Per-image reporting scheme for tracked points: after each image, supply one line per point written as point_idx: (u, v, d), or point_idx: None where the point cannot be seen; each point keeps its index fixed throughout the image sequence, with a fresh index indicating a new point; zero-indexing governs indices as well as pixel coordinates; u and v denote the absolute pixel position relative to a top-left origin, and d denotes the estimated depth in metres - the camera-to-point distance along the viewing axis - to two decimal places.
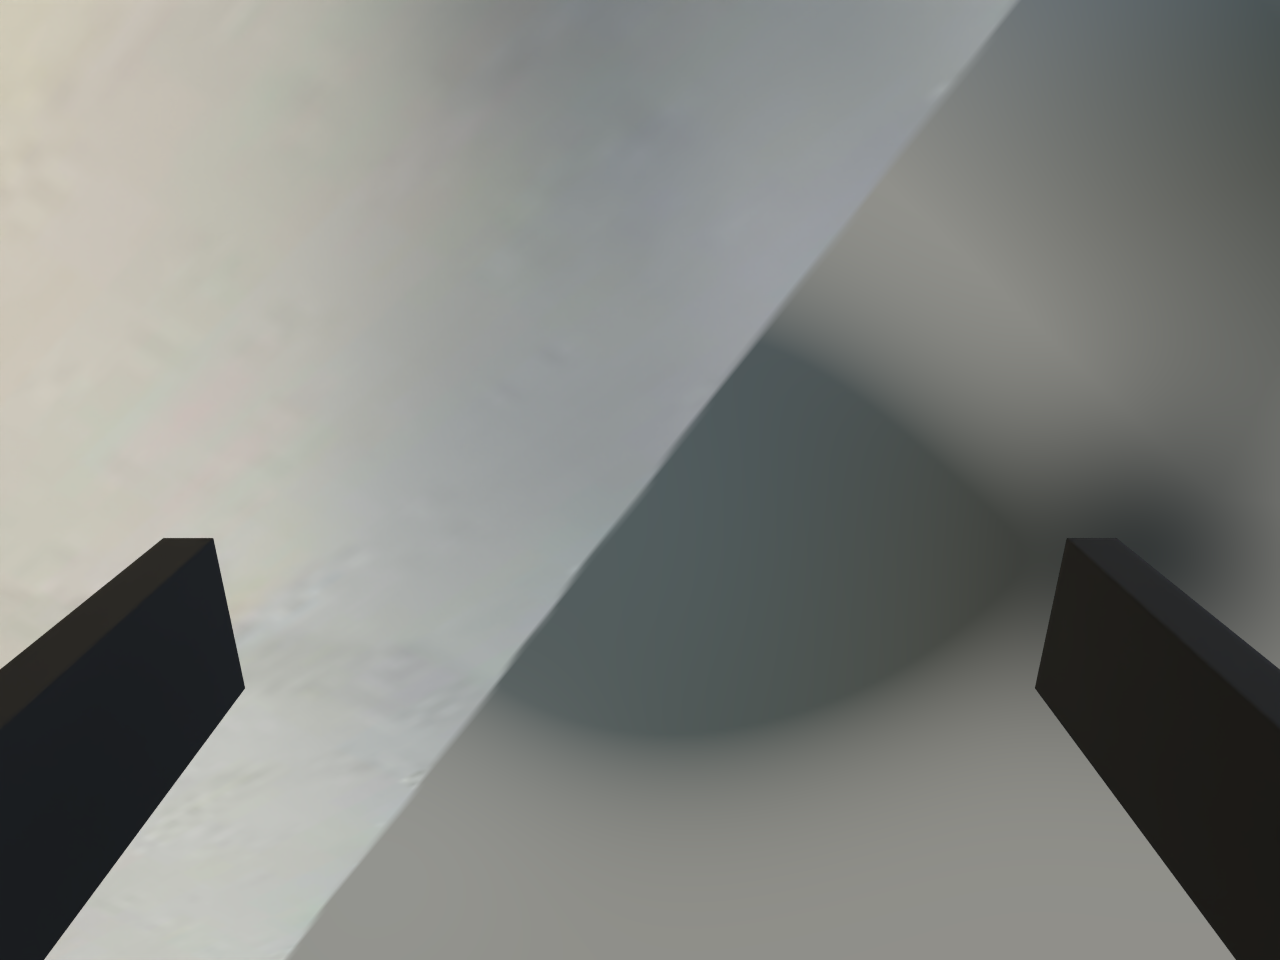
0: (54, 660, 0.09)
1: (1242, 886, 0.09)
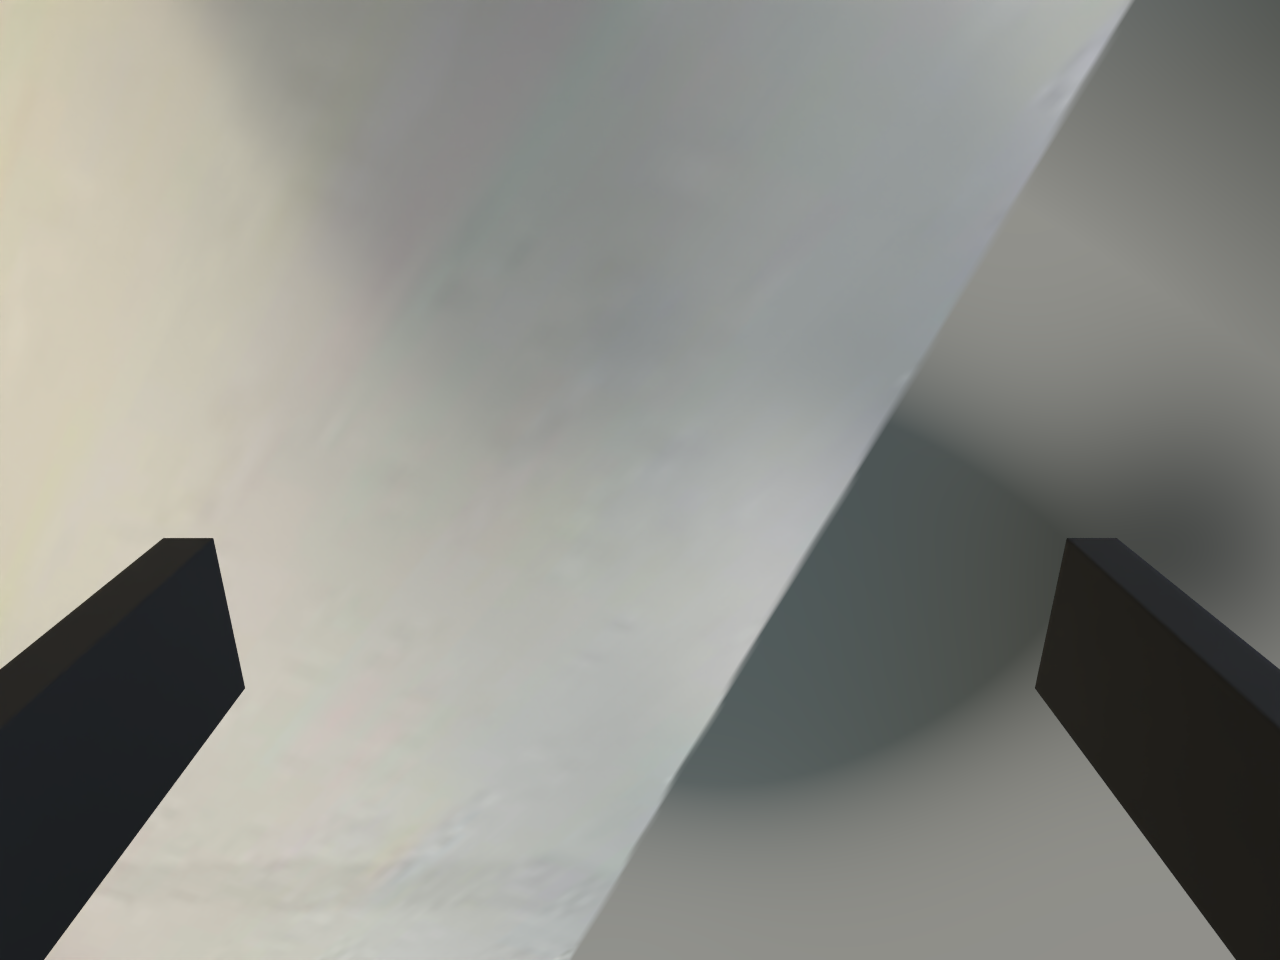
0: (54, 660, 0.09)
1: (1242, 885, 0.09)
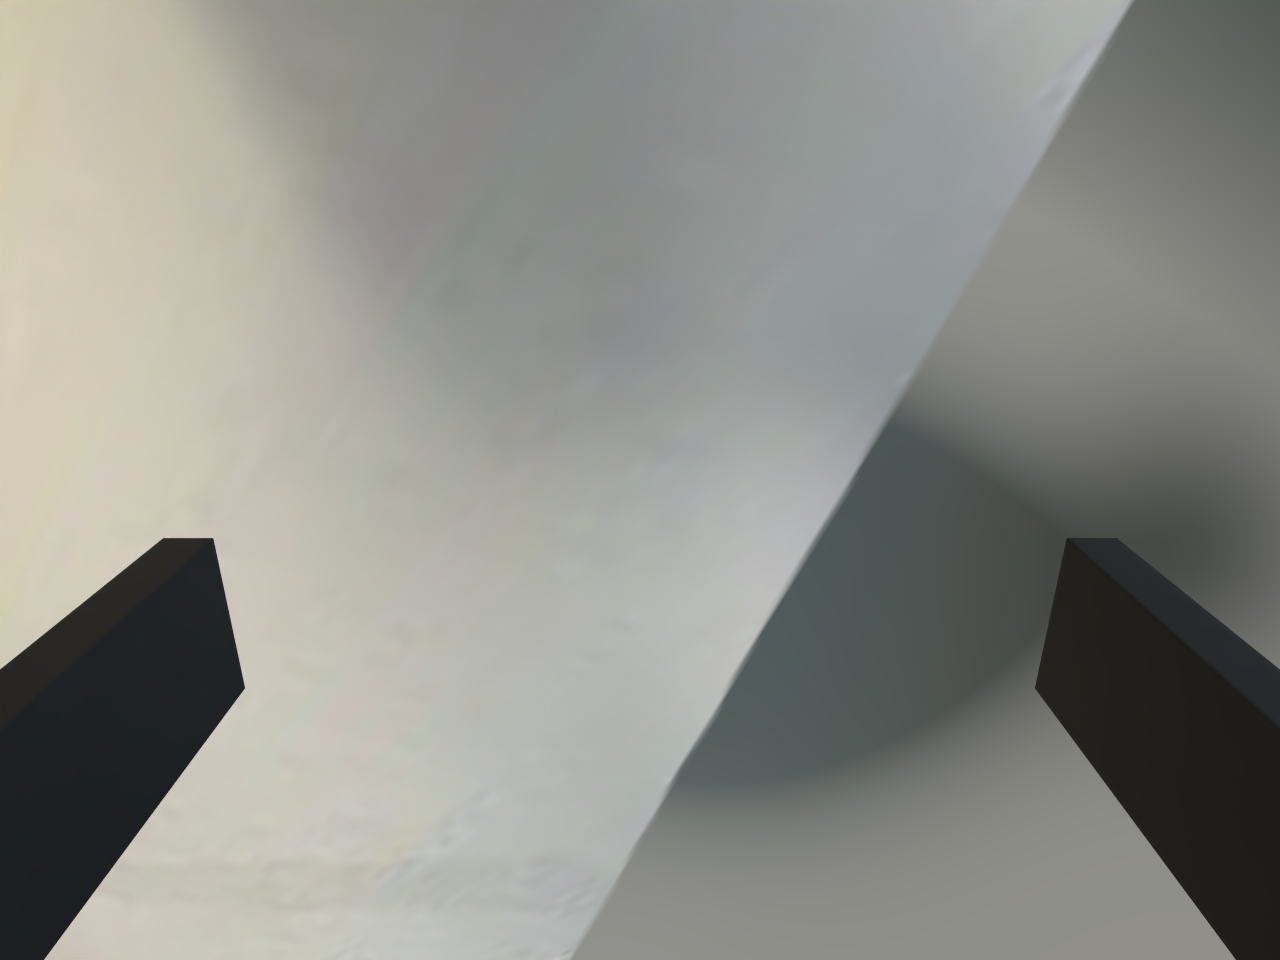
0: (54, 660, 0.09)
1: (1242, 885, 0.09)
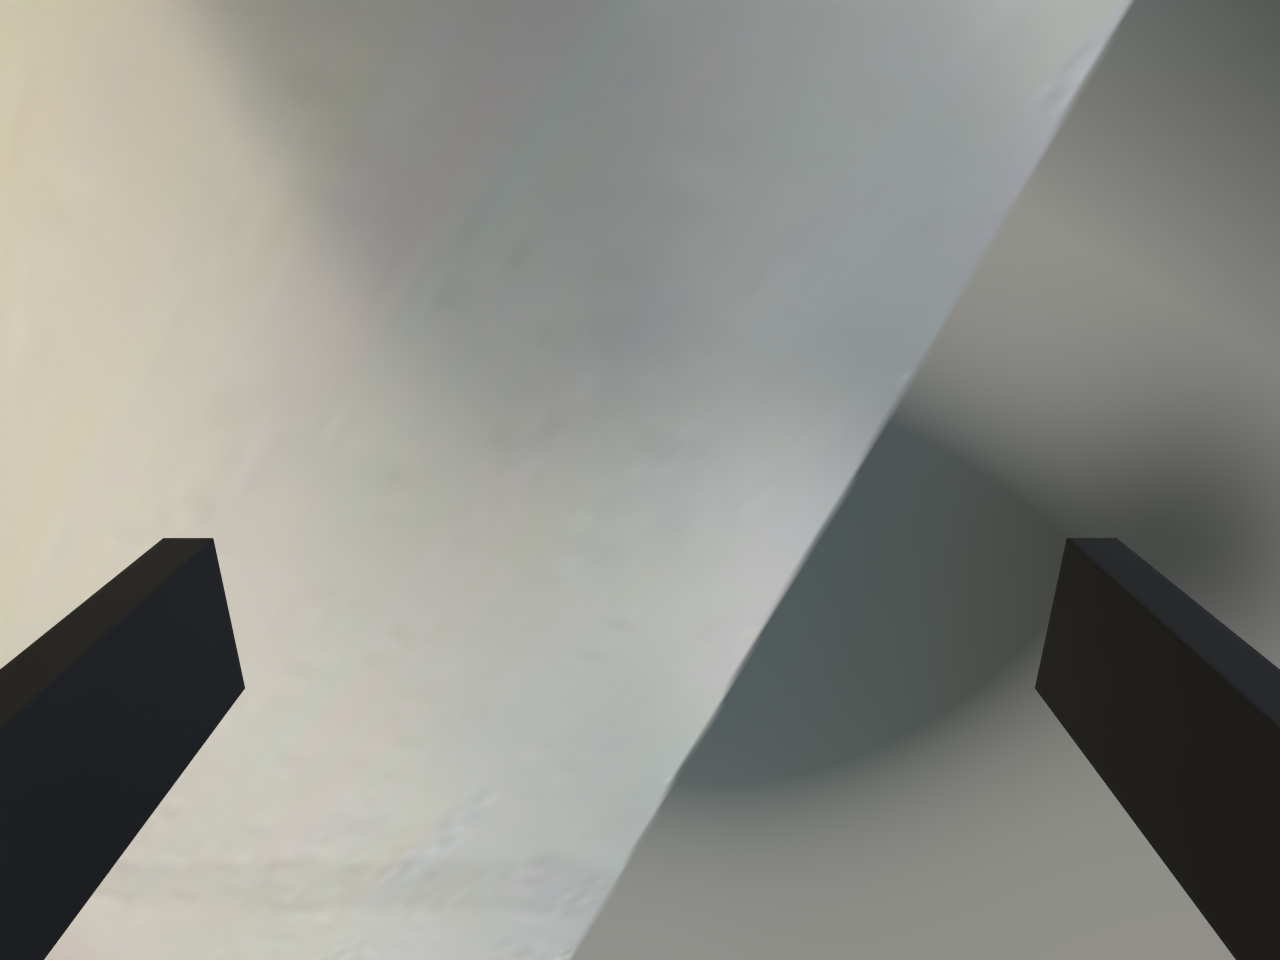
0: (54, 660, 0.09)
1: (1242, 885, 0.09)
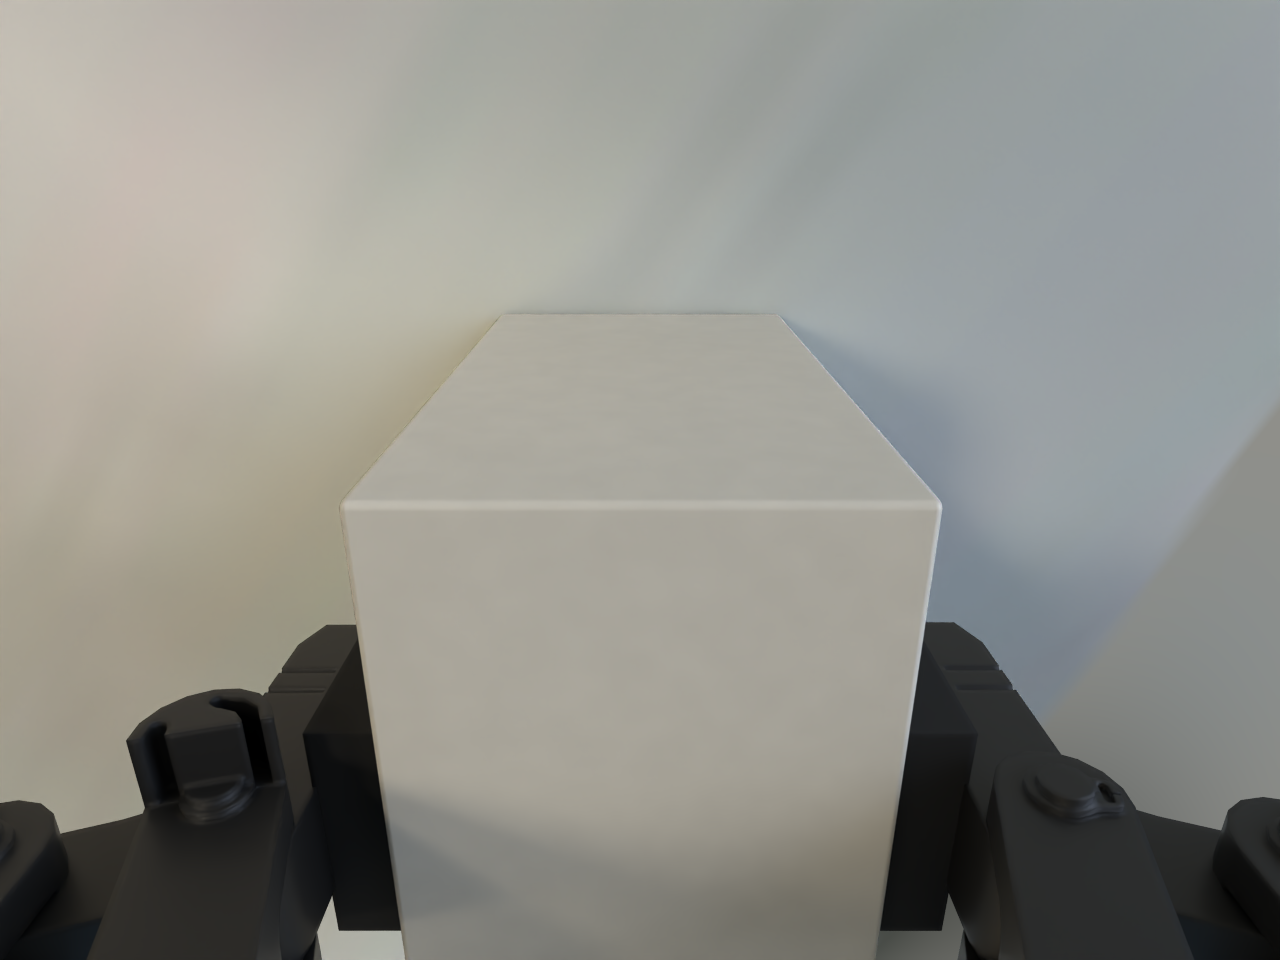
0: None
1: None
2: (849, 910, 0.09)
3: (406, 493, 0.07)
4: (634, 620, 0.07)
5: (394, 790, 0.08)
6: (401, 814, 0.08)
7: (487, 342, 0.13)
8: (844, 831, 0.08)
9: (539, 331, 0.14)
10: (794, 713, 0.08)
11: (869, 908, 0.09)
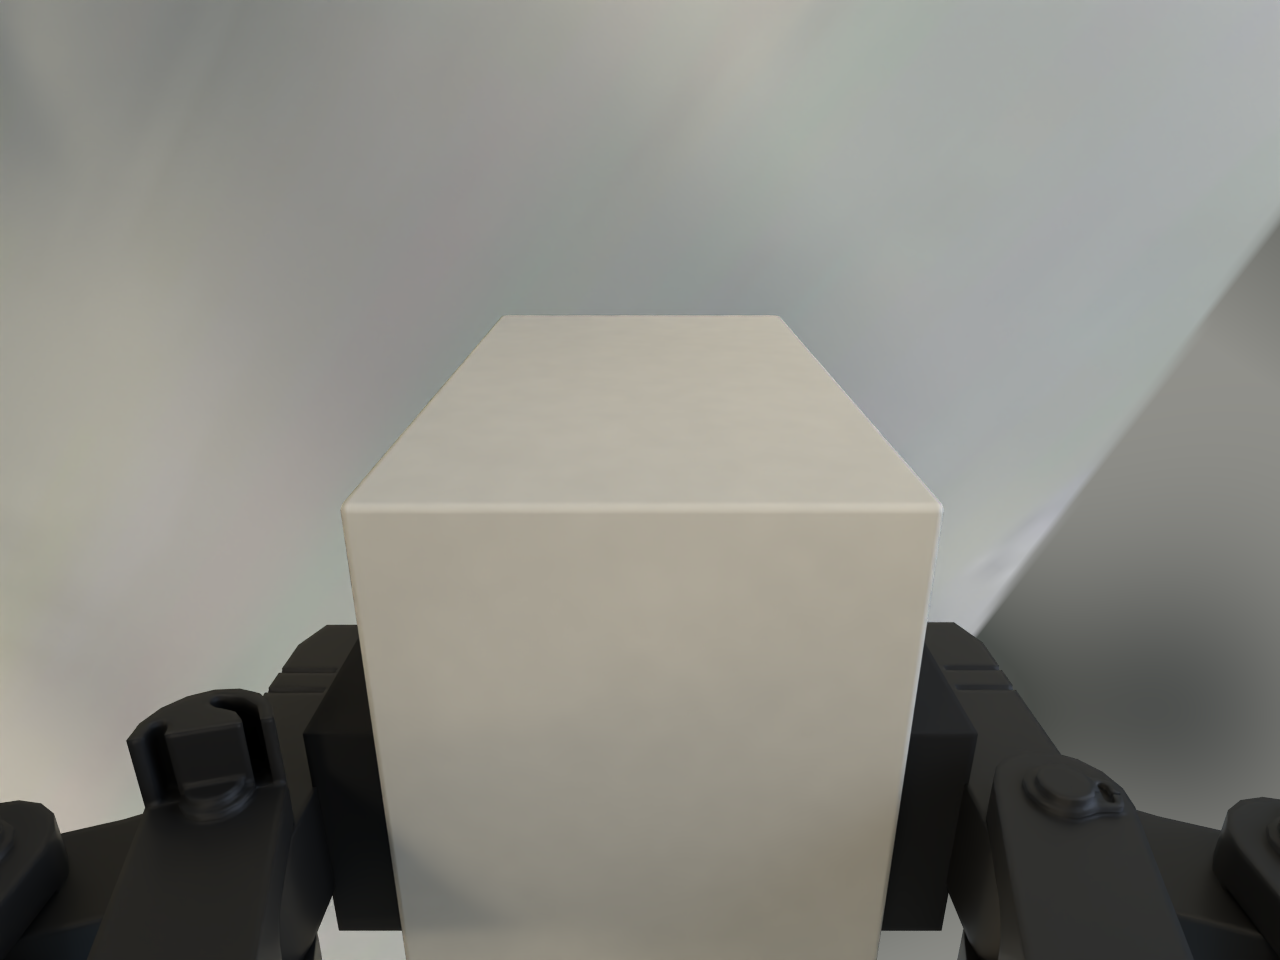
0: None
1: None
2: (850, 912, 0.09)
3: (408, 497, 0.07)
4: (635, 622, 0.07)
5: (394, 791, 0.08)
6: (402, 816, 0.08)
7: (487, 344, 0.13)
8: (844, 833, 0.08)
9: (540, 333, 0.14)
10: (795, 715, 0.08)
11: (870, 910, 0.09)
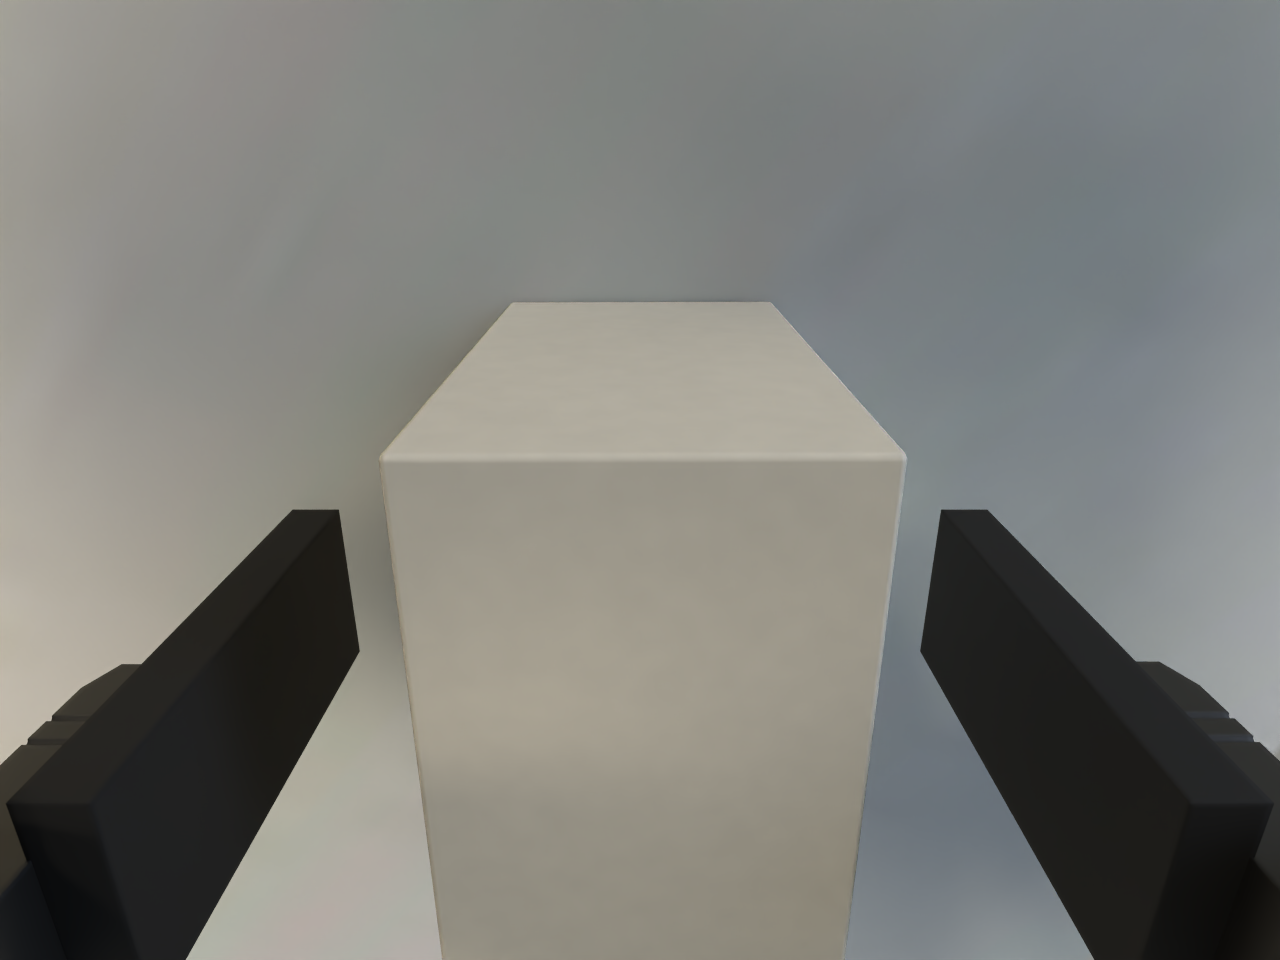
0: (231, 611, 0.10)
1: (1052, 811, 0.10)
2: (830, 828, 0.10)
3: (438, 449, 0.08)
4: (638, 561, 0.08)
5: (423, 717, 0.09)
6: (430, 739, 0.09)
7: (500, 327, 0.14)
8: (824, 754, 0.09)
9: (547, 317, 0.15)
10: (778, 645, 0.09)
11: (848, 826, 0.10)
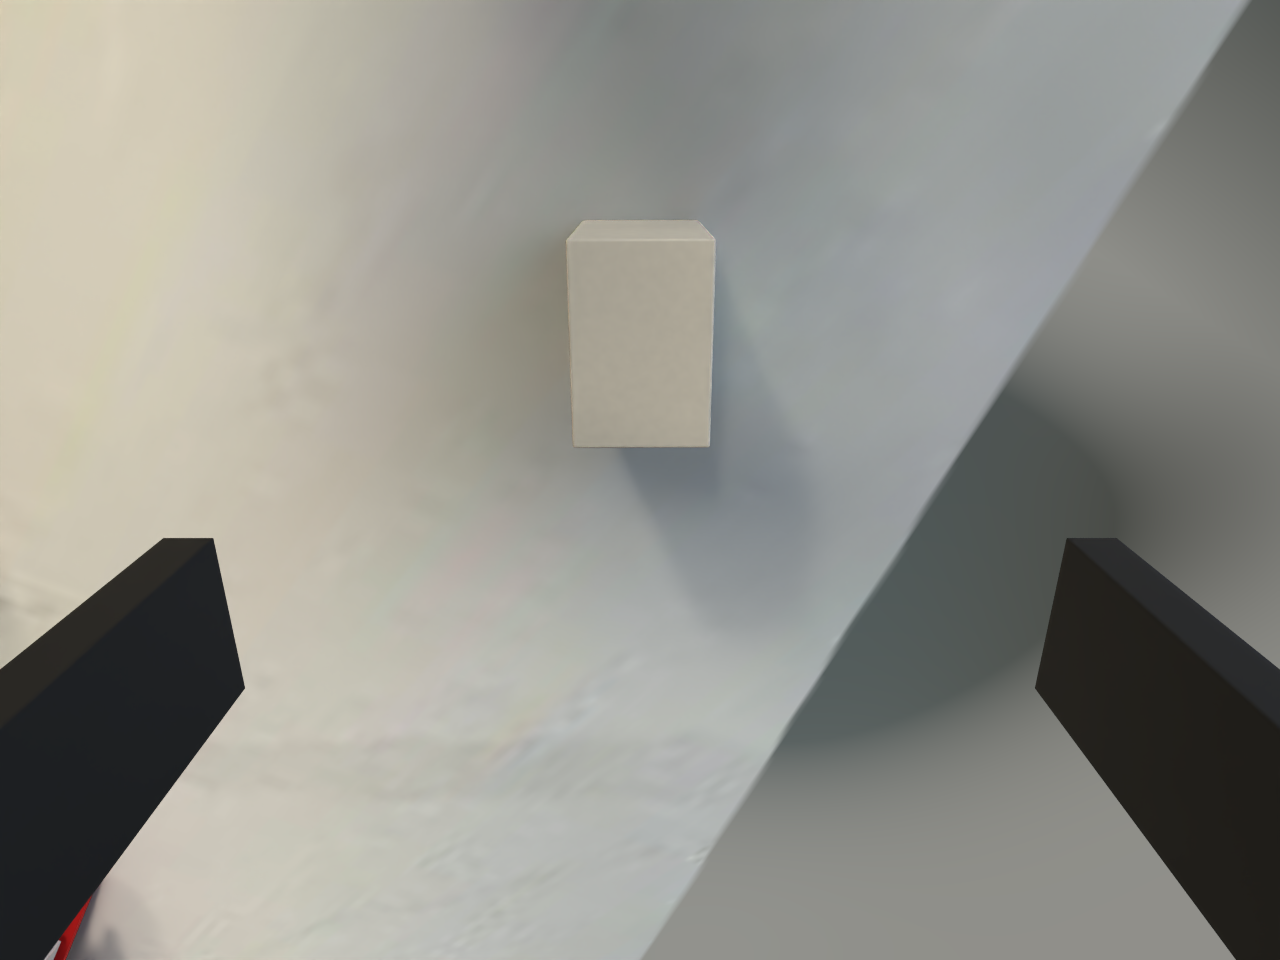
0: (54, 660, 0.09)
1: (1242, 886, 0.09)
2: (701, 372, 0.30)
3: (582, 238, 0.29)
4: (639, 273, 0.29)
5: (572, 328, 0.30)
6: (574, 337, 0.30)
7: (583, 224, 0.35)
8: (698, 342, 0.30)
9: (601, 222, 0.35)
10: (681, 302, 0.29)
11: (707, 371, 0.30)
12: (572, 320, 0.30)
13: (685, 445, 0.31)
